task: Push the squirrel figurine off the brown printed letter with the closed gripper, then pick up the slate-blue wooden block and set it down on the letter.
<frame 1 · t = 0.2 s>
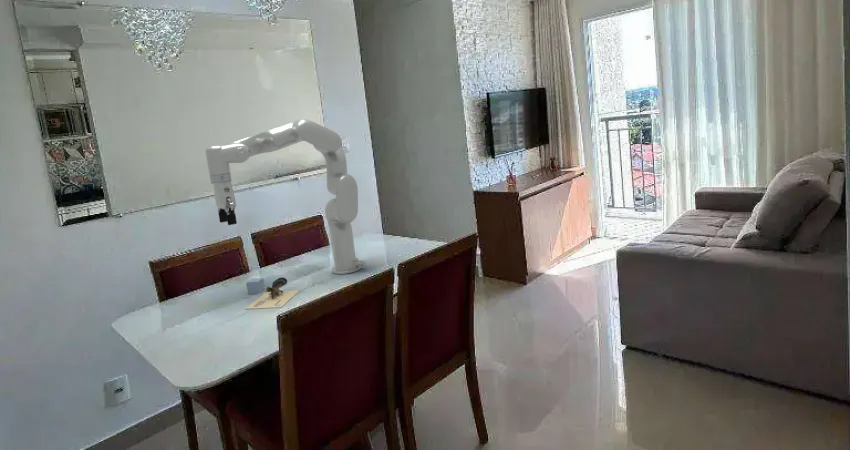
hand: (228, 223, 209), 30 cm above the table, tool pointing down, fingers open, 9 cm apart
letter: (273, 299, 208), on the table
squirrel figurine: (277, 296, 212), resting on letter
blue block: (256, 292, 221), on the table
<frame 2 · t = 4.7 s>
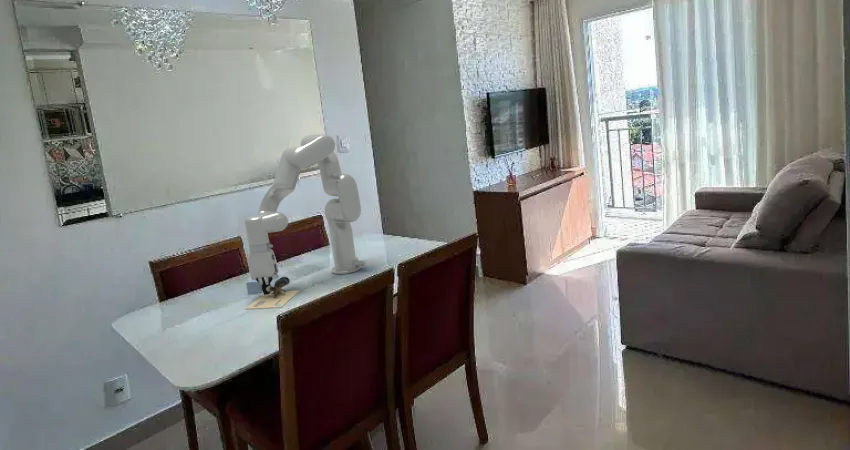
hand: (267, 293, 212), 1 cm above the table, tool pointing down, fingers closed
squirrel figurine: (280, 295, 213), resting on letter, touching gripper
everything else where it was.
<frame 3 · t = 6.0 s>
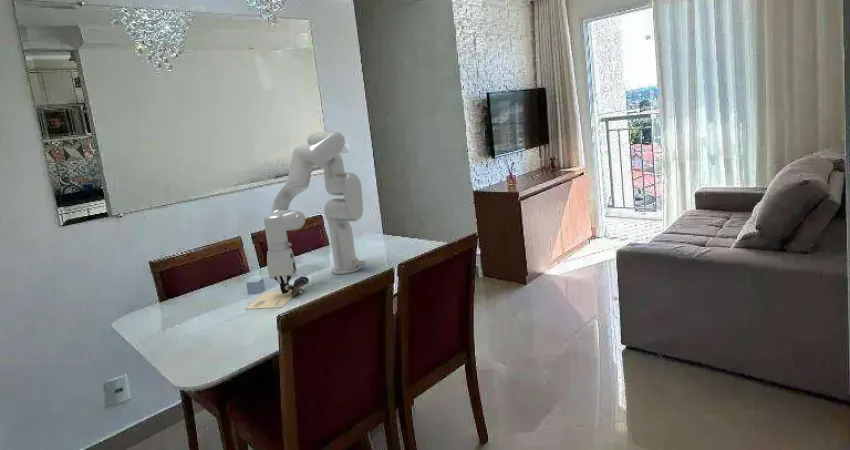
hand: (285, 292, 211), 1 cm above the table, tool pointing down, fingers closed
squirrel figurine: (298, 294, 211), on the table, touching gripper
everything else where it was.
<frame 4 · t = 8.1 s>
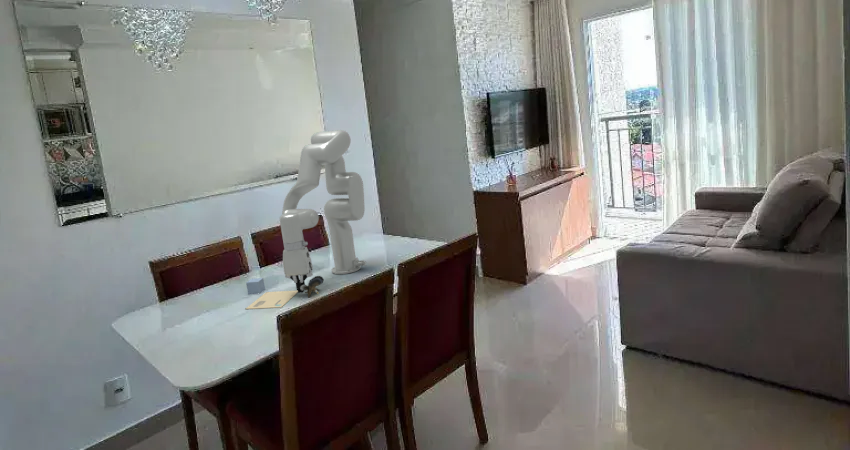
hand: (301, 291, 210), 1 cm above the table, tool pointing down, fingers closed
squirrel figurine: (313, 294, 210), on the table
everything else where it was.
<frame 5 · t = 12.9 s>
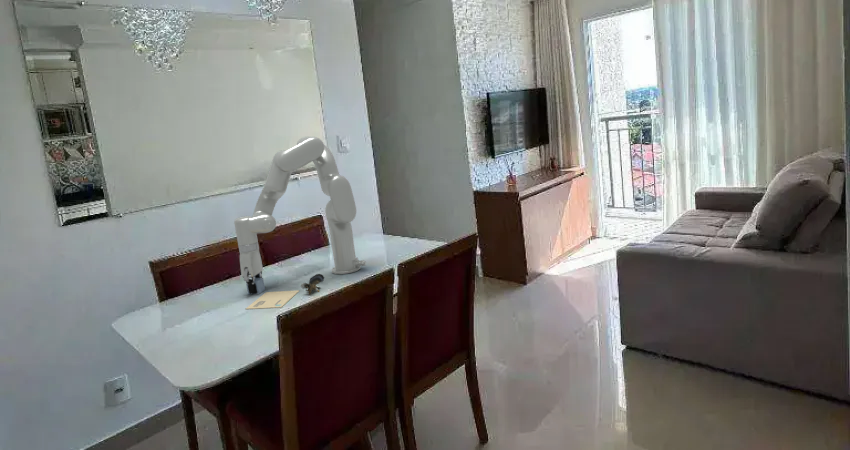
hand: (256, 290, 221), 0 cm above the table, tool pointing down, fingers closed on blue block, 5 cm apart
squirrel figurine: (314, 292, 213), on the table
blue block: (256, 291, 221), on the table, touching gripper
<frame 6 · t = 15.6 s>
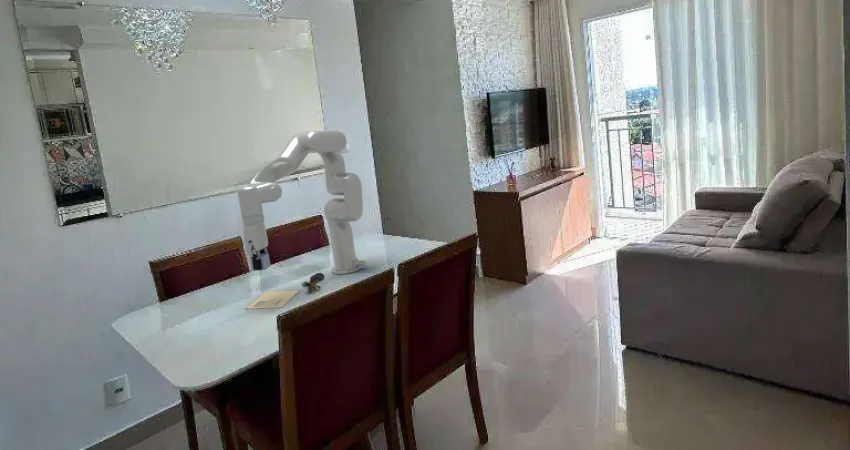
hand: (261, 267, 203), 14 cm above the table, tool pointing down, fingers closed on blue block, 5 cm apart
squirrel figurine: (314, 291, 214), on the table
blue block: (261, 268, 203), point 14 cm above the table, touching gripper
when the fingers open (1 cm above the table, at t = 18.2 s): blue block stays where it is, resting on letter.
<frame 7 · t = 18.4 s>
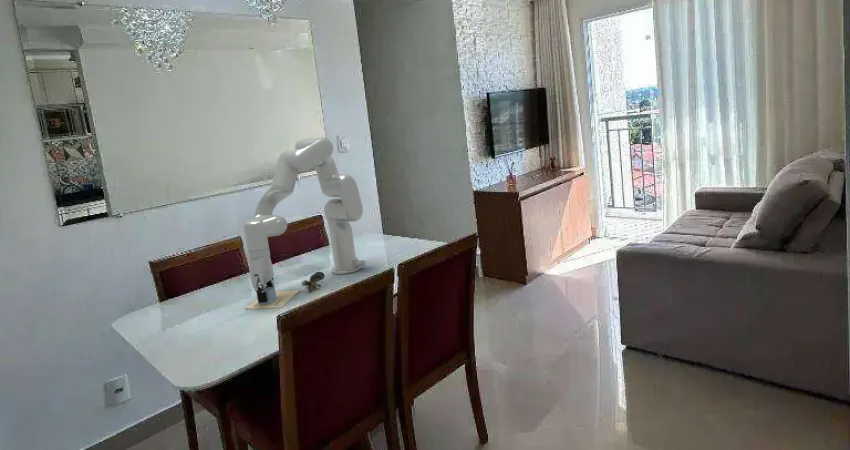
hand: (267, 298, 205), 2 cm above the table, tool pointing down, fingers open, 6 cm apart
squirrel figurine: (315, 289, 216), on the table
blue block: (267, 302, 206), resting on letter
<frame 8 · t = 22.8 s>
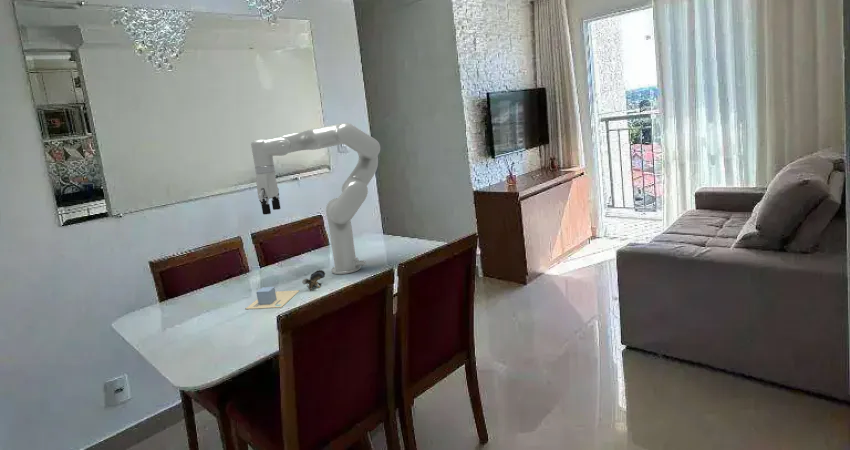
hand: (272, 211, 224), 30 cm above the table, tool pointing down, fingers open, 9 cm apart
squirrel figurine: (315, 288, 218), on the table
everything else where it was.
at the end: blue block inside the target area on the letter (3.1 cm from its centre), point 0.3 cm above the letter's base; blue block touching letter; squirrel figurine touching table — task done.
